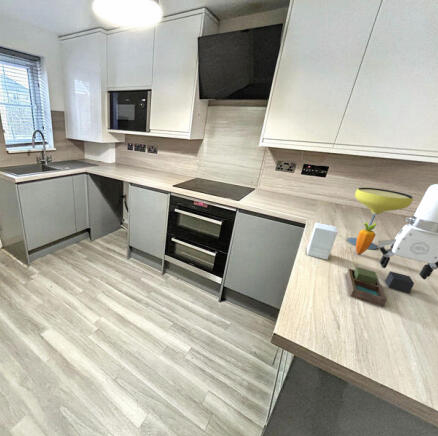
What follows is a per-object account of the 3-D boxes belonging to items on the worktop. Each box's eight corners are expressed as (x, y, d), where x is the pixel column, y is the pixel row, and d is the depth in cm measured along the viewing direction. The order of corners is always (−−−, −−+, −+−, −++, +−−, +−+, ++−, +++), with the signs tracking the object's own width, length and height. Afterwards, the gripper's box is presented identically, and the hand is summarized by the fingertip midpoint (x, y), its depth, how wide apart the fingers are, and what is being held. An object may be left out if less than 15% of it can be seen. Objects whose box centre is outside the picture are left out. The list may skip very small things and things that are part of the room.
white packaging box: (326, 253, 101) (336, 226, 96) (327, 260, 95) (338, 232, 91) (306, 247, 105) (315, 221, 100) (306, 254, 99) (315, 227, 94)
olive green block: (370, 281, 82) (375, 271, 80) (373, 288, 78) (378, 278, 76) (352, 276, 84) (356, 266, 83) (354, 283, 80) (358, 273, 79)
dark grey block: (404, 285, 81) (409, 276, 80) (408, 293, 77) (414, 283, 76) (385, 280, 84) (389, 271, 82) (388, 287, 80) (393, 277, 78)
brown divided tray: (374, 282, 82) (377, 276, 81) (383, 306, 71) (386, 299, 70) (346, 274, 86) (348, 268, 85) (350, 296, 75) (353, 289, 74)
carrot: (349, 254, 101) (363, 222, 95) (352, 250, 104) (365, 219, 99) (364, 258, 98) (379, 225, 92) (366, 255, 101) (381, 223, 95)
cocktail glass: (394, 248, 108) (420, 195, 99) (378, 257, 99) (405, 200, 90) (348, 232, 122) (367, 186, 113) (331, 239, 114) (349, 189, 105)
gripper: (393, 221, 73) (370, 267, 80) (477, 237, 65) (444, 287, 71) (387, 214, 79) (366, 257, 86) (464, 229, 71) (434, 276, 77)
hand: (401, 271), depth 79 cm, fingers open, 9 cm apart
